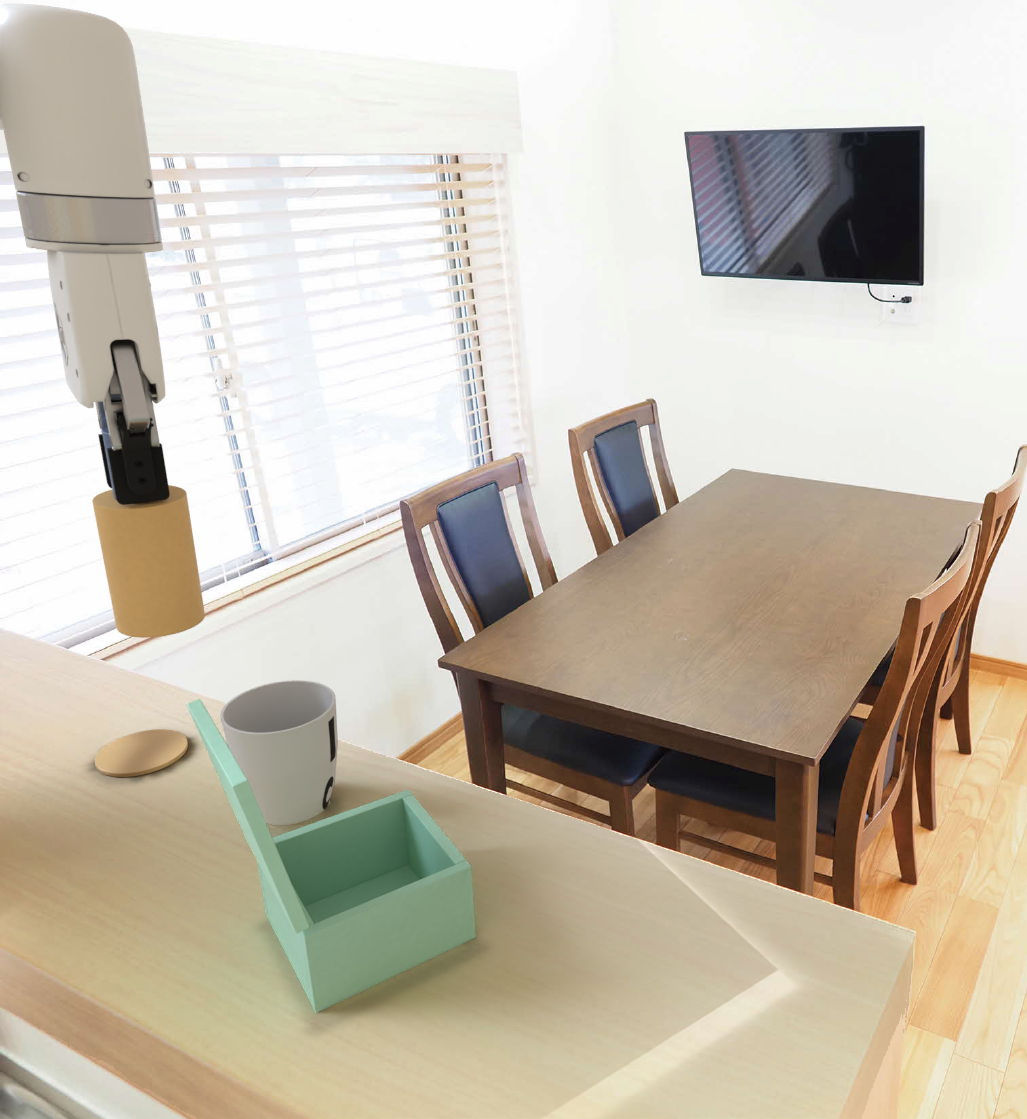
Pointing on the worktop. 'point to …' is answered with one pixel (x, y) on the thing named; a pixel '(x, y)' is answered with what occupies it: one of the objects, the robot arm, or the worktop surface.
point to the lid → (248, 815)
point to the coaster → (141, 753)
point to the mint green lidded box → (370, 897)
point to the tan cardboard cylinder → (149, 562)
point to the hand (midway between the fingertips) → (138, 490)
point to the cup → (285, 747)
